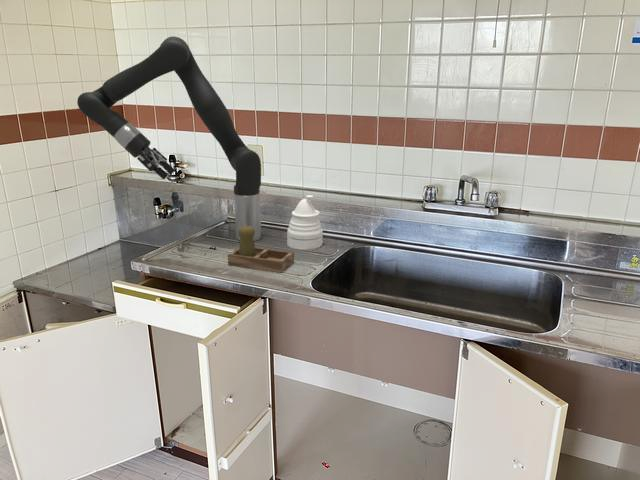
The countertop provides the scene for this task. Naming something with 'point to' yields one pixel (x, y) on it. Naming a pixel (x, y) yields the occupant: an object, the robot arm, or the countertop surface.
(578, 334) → the countertop surface
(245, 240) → the cork
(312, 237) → the honey pot
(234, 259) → the spice caddy
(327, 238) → the countertop surface
